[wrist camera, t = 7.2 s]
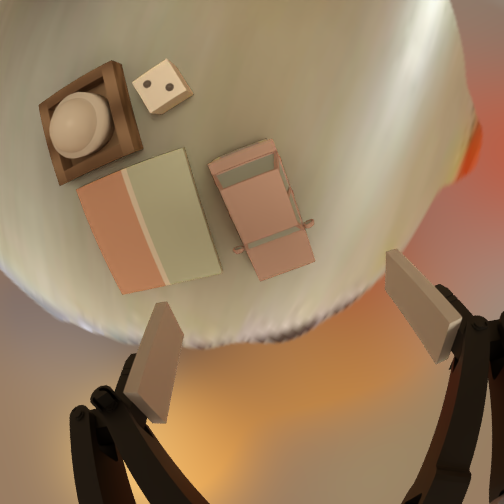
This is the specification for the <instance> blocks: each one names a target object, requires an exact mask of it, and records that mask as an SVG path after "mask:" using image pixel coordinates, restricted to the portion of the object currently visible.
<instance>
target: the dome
mask: <svg viewBox="0 0 504 504" xmlns="http://www.w3.org/2000/svg"><path fill="white" fill-rule="evenodd" d="M113 130H114V121H113V117H112V113H111V109H110V105H109V101H108V99H107V98H106V97H104V96H102V95H100V94H95V93H86V92H76V93H73V94H70V95H69V96H67V97H66V98H64V99H63V100H62V101H61V102H60V103H59V105H58V106H57V107H56V109H55V111H54V113H53V116H52V118H51V121H50V127H49V133H50V137H51V140H52V143H53V146H54V147H55V149H56V150H57V152H58V153H60V154H61V155H62V156H64V157H66V158H79V157H82V156H85V155H89V154H92V153H95V152H97V151H99V150H100V149H102V148H103V147H104V146H105V145H106V143H107V142H108V141H109V139H110V137H111V135H112V133H113Z"/></svg>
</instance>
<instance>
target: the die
mask: <svg viewBox="0 0 504 504" xmlns="http://www.w3.org/2000/svg"><path fill="white" fill-rule="evenodd" d="M132 83H133V85H134V87H135V88H136V90H137V92H138V94H139V95H140V97H141V98H142V100H143V102H144V103H145V105H146V107H147V108H148V110H149V112H150V113H152V114H163V113H165V112H166V111H168V110H170V109H171V108H173V107H174V106H176V105H177V104H179V103H181V102H182V101H184V100H185V99H187V98H189V97H190V96H192V95H194V94H193V92H192V91H191V89H190V88H189V86H188V84H187V83H186V81H185V80H184V78H183V76H182V75H181V73H180V72H179V70H178V68H177V67H176V66H175V65H174V64H173V63H171V62H170V61H169V60H168V59H166V60H164V61H162V62H161V63H159V64H158V65H156V66H155V67H153V68H152V69H150V70H149V71H147V72H146V73H144V74H143V75H142V76H140V77H139V78H137V79H136V80H135V81H133V82H132Z"/></svg>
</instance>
